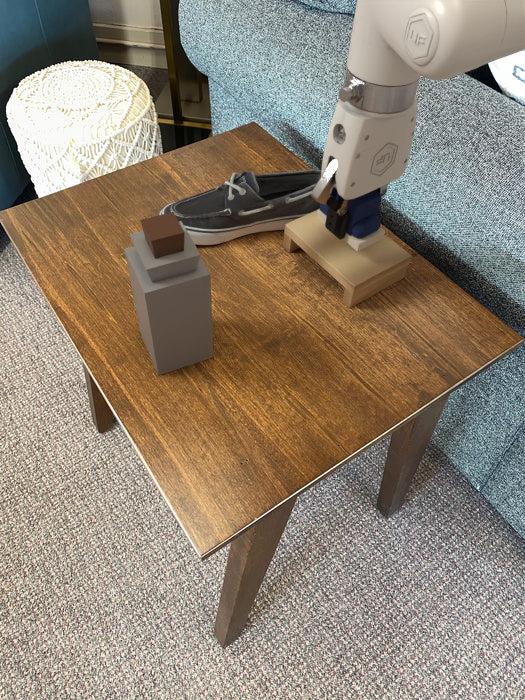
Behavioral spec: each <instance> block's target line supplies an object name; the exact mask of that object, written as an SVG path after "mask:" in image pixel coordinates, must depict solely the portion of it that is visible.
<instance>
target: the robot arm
mask: <svg viewBox="0 0 525 700" xmlns="http://www.w3.org/2000/svg"><path fill="white" fill-rule="evenodd" d="M352 24H353V25H352V30H351V36H350V42H349V48H348V55H347V61H346V66H345V71H344V77H343V85H342V87H341V88H339V90H338V97H339V100H337V101H338V102H337V105H336V107H335V110H334V112H333V116H332V119H331V121H330V125H329V129H328V133H327V137H326V140H325V145H324V150H323V154H322V155H323V158H322V162H321V169H320V170H321V178H320V180H319V181H318V183H317V184H316V186H315V188H314V189H313V191H312V193H311V197H313V198H314V199H315V200H316V201H317V202H319V203H321V204H324V205H327V206H328V211H327V217H326V222H325V227H326V228H327V229H328V230H329V231H330V232H331V233H332V234H334V235H335V236H336V237H337V238H338V239H340V240H341V239H343V238H345V234H346V230H347V225H348V220H349V213H348V212H347V209H348V206H349V204H350V201H351V199H354V198H357V197H359V196H362V195H364V194H366V193H369V192H371V191H373V190H376V191H377V192H378V193H380V194H381V195H382V196H381V198H383V197H384V196H386V194H387V192H388V185H390V183H392V182H394V181H396V180H398V179H400V178H401V177H402V176H403V175H404V173H405V171H406V169H407V166H408V162H409V159H410V154H411V151H412V145H413V141H414V137H415V130H416V126H417V117H418V101H419V99H418V95H417V91H418V88H419V84H420V81H421V77H422V78H425V79H427V80H431V81H443V80H448V79H451V78H455V77H457V76H459V75H463V74H465V73H468V72H470V71H472V70H476V69H478V68H480V67H482V66H485V65H487V64H490V63H492V62H494V61H498V60H500V59H504V58H506V57H509V56H512V55H515V54H517V53H519V52H522V51H524V50H525V0H356V5H355V11H354V17H353V23H352ZM337 194H339V195H340V196H341V197H342V198H341V201H338V200H337V199H336V196H337ZM381 204H382V199H381V200H380V204H379V208H378V212H377V216H378V214H379V211H380V208H381Z"/></svg>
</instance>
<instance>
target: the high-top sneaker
mask: <svg viewBox="0 0 525 700" xmlns="http://www.w3.org/2000/svg"><path fill="white" fill-rule="evenodd" d="M381 196H382V195H381V194H380V193H378V192H377V191H376V190H373V191H371V192H369V193H366V194H364V195H362V196H359V197H357V198H354V199H351V201H350V204H349V206H348V209H347V212H348V213H349V220H348V225H347V230H346V234H345V238H343V240H344V241H345V242H347V243H348V244H349V245H350V246H351V247H353V248H354V249H355V250H356V251H359V250H361V249H363V248H365V247H367V246H369V245H371V244H373V243H375V242H377V241H379V240H381V239H383V237H384V234H385V235H386V231H385V230H384V229H383V228H382V227H381V224H382V222H381V219H380V217H379V216H378V215H377V212H378V213H379V211H378V208H379V209H380V207H379V204H380V205H381V203H380V200H381V201H382V197H381ZM341 198H342V197H341V196H340V195H339V194H337V196H336V199H337V200H338V201H341ZM327 211H328V206H327V205H324V204H321V203H320V209H318V210H317V218H318V219H320V220H321V221H322V222H323V223H324V224H325V222H326V217H327Z"/></svg>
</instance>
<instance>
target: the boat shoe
mask: <svg viewBox="0 0 525 700" xmlns="http://www.w3.org/2000/svg"><path fill="white" fill-rule="evenodd" d="M320 178H321V169H315V168H314V169H312V168H311V169H303V170H295V171H283V172H271V173H261V174H255V172H254V170H252V169H251V170H250V171H249V172H248V171H245V170H244V171H241V172H240V173H237V172H233V173H232V174H231V177H230V178H229V179H227V180H226V181H224V183H221V185H218V186H216V187H214V188H210V189H208V190H205V191H203V192H199V193H196V194H193V195H189V196H187V197H184V198H181V199H179V200H176V201H173V202H171V203H169V204H167V205H165V206H164V207H163V208H162V209H161V210H160V212H159V215H162V214H166V213H170V212H173V213H174V215H175V216H176V218H177V220H178V222H179V221H182V223H183V225H184V227H185V228H186V230H187V232H188V234H189V235H190V237H191V239H192V241H193V242H194V244H195V246H196V245H198V246H212V245H219V244H221V243H226V242H229V241H232V240H234V239H237V238H240V237H243V236H246V235H250V234H256V233H262V232H269V231H270V232H272V231H285V224H287V223H289V222H292V221H294V220H296V219H298V218H300V217H303V216H305V215H307V214H309V213H312V212H314V211H316V210H318V209H320V203H319V202H317V201H316V200H315V199H314V198H313V197H311V193H312V191H313V189H314V188H315V186H316V184H317V183H318V181H319V180H320Z"/></svg>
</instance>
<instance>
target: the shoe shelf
mask: <svg viewBox="0 0 525 700" xmlns="http://www.w3.org/2000/svg"><path fill="white" fill-rule="evenodd" d="M282 242H283V243H282V247H283V249H285V250H286V252H288V253H289V254H290V253H292V252H294V251H296V250H298V249H302V250H303V251H304V252H305V253H306V254H307V255H308V256H309V257H310V258H311V259H313V260H314V261H315V262H316V263H317V264H318V265H319V266H321V268H323V269H324V271H326V272H327V273H328V274H329V275H330V276H331V277H332V278H334V279H335V280H336V281H337V282H338V283H339V284H340V285H342V287H343V288H344V290H343V295H342V298H341V302H342V303H343V304H344V305H345V306H346V307H347V308H348V309H351V308H353V307H355V306H356V305H357V304H361V302H364V301H365V300H367V299H369V298H371V297H372V296H374V295H376V294H377V293H380V292H382V291H383V290H385V289H387V288H389V287H390V286H392V285H394V284H396V283H398V282H399V281H402V280H403V279H405V277H406V275H407V272H408V268H409V265H410V262H411V259H412V254H410V253H409V252H408V251H406V250H405V249H404V248H403V247H402V246H401V245H399V244H398V243H397V242H396V241H394V240H393V239H391V238H390V237H389V236H388V235H387V234H386V233H385V234H384V237H383V239H381V240H379V241H377V242H375V243H373V244H371V245H369V246H367V247H365V248H363V249H361V250H359V251H356V250H355V249H354V248H353V247H351V246H350V245H349V244H348V243H347V242H345V241H344V240H343V239H341V240H340V239H338V238H337V237H336V236H335V235H334V234H332V233H331V232H330V231H329V230H328V229H327V228H326V227H325V224H324V223H323V222H322V221H321V220H320V219H318V218H317V210H316V211H314V212H312V213H309V214H307V215H305V216H303V217H300V218H298V219H296V220H294V221H292V222H289V223H287V224H285V230H284V233H283V241H282Z"/></svg>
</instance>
